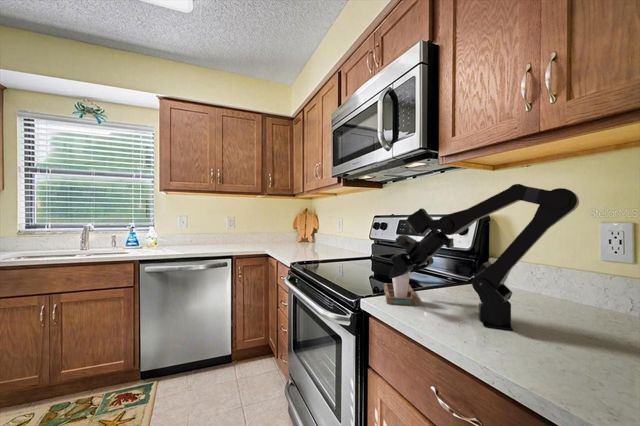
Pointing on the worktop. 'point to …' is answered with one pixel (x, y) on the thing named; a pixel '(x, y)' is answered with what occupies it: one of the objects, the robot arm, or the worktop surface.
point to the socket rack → (399, 300)
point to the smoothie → (401, 285)
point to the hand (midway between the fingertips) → (397, 275)
